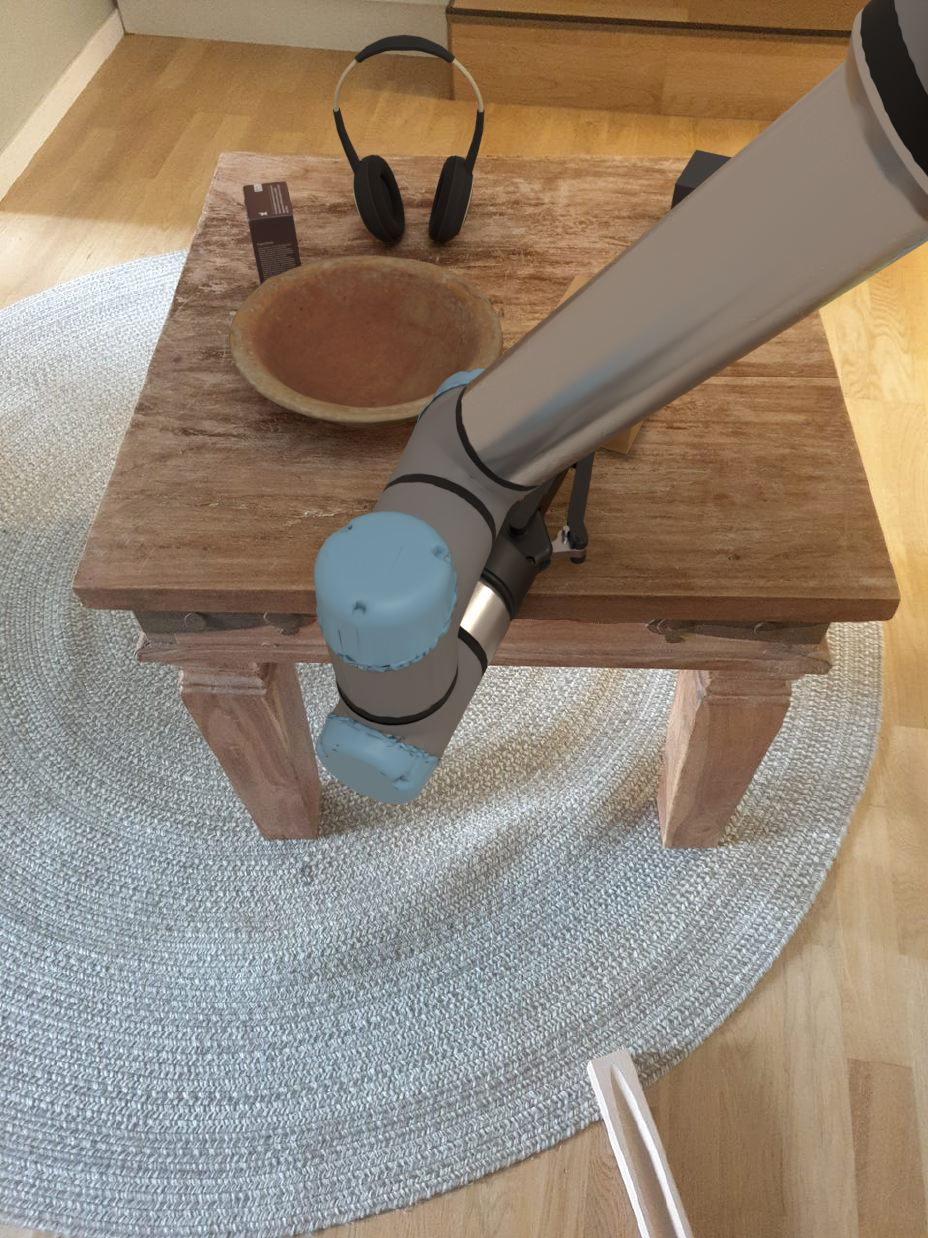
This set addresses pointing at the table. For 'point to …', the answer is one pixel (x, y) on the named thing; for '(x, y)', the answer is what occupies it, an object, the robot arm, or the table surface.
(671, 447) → the table surface
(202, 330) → the table surface
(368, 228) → the headphones
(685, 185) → the block
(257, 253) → the box
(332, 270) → the bowl
